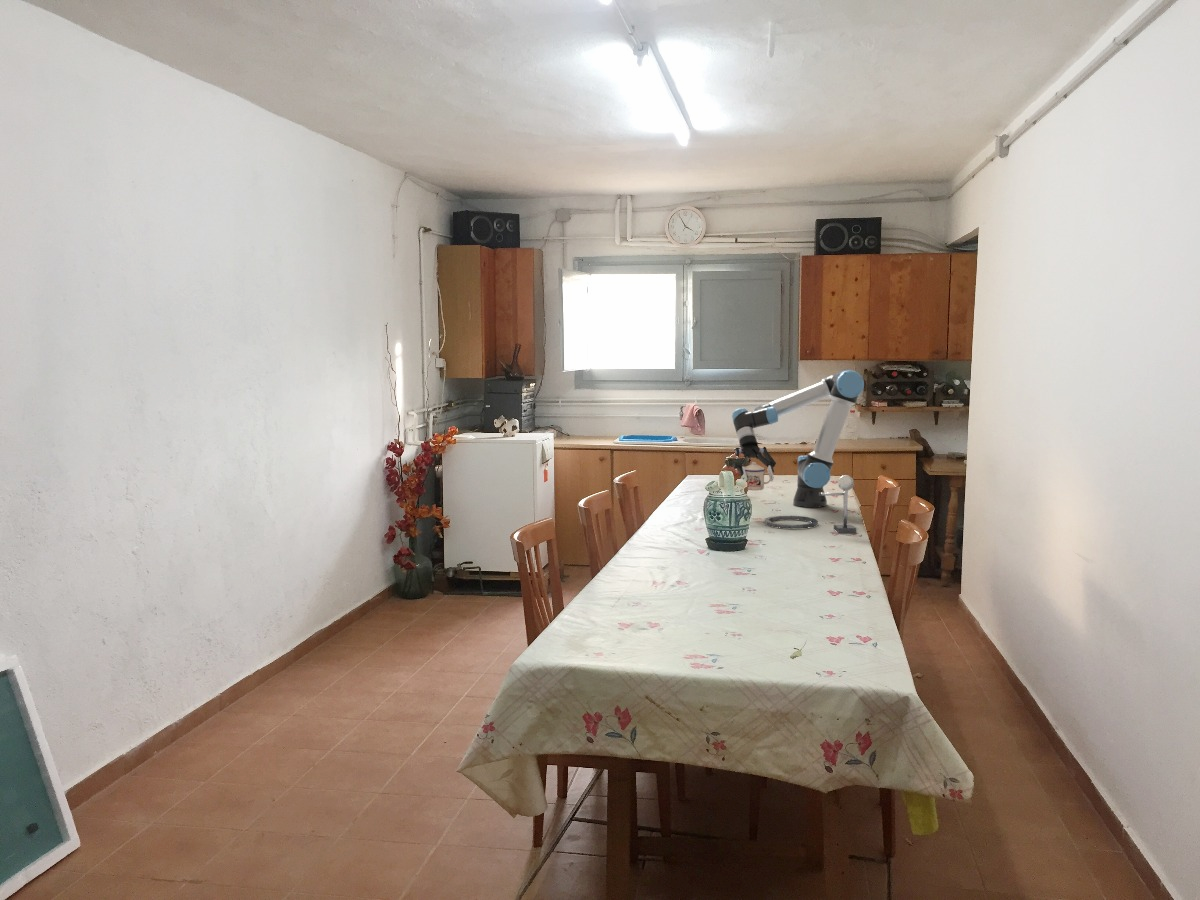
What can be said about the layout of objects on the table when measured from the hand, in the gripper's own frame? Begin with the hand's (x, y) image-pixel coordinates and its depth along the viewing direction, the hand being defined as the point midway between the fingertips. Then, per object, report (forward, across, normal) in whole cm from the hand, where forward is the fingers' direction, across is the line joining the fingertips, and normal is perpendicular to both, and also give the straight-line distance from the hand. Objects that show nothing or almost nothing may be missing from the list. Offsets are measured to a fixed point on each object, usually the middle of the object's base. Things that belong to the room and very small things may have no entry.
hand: (759, 480), depth 384 cm
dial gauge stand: (+34, -20, +12) cm, 41 cm away
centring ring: (+22, -9, -2) cm, 23 cm away
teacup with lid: (+1, 0, -5) cm, 5 cm away
